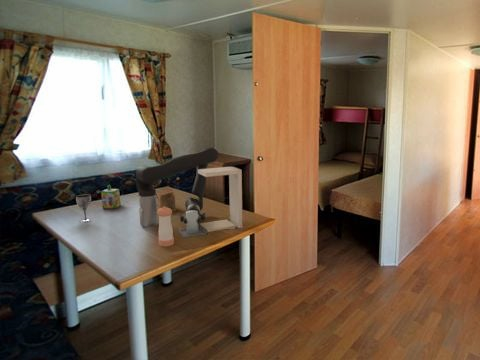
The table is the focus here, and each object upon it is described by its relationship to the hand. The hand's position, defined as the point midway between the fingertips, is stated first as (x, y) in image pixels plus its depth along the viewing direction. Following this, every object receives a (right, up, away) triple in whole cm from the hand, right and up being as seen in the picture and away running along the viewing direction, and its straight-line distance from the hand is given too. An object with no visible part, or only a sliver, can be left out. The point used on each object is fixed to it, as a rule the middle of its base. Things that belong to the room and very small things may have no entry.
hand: (192, 221), depth 180 cm
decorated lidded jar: (-62, +3, +58) cm, 85 cm away
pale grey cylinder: (0, -6, +4) cm, 7 cm away
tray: (0, -7, +4) cm, 8 cm away
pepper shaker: (-11, -10, -11) cm, 18 cm away
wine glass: (-66, -3, +29) cm, 72 cm away
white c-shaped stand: (+13, -5, +13) cm, 19 cm away
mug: (-25, +1, +48) cm, 54 cm away
